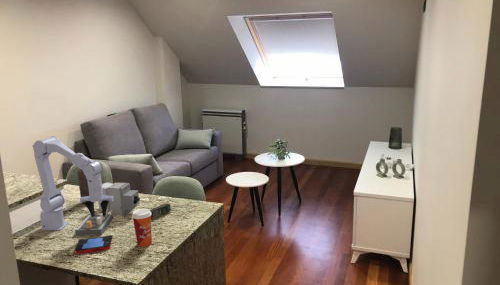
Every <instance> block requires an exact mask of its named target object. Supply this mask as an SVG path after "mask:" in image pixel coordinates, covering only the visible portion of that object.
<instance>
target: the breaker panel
mask: <svg viewBox="0 0 500 285" xmlns="http://www.w3.org/2000/svg"><path fill="white" fill-rule="evenodd" d="M113 220H114V216H113V214H111V213H109V211H108V209H106V216H105V217H103V214H102V212H100V213H99V214H95V216H94V217H92V216H91V214H88V215H87V216H86V218H84V219H83V221H82V222H81V223H80V224H79V225H78V226H77V227H76V229H75V230H74V233H75V234H74V235H75V236H102V235H103V234H104V233H105V231H106V230H107V228H108V227H109V225H111V223H112V221H113ZM87 221H91V222H92V227H91V228H88V229H87V225H86V222H87Z"/></svg>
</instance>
